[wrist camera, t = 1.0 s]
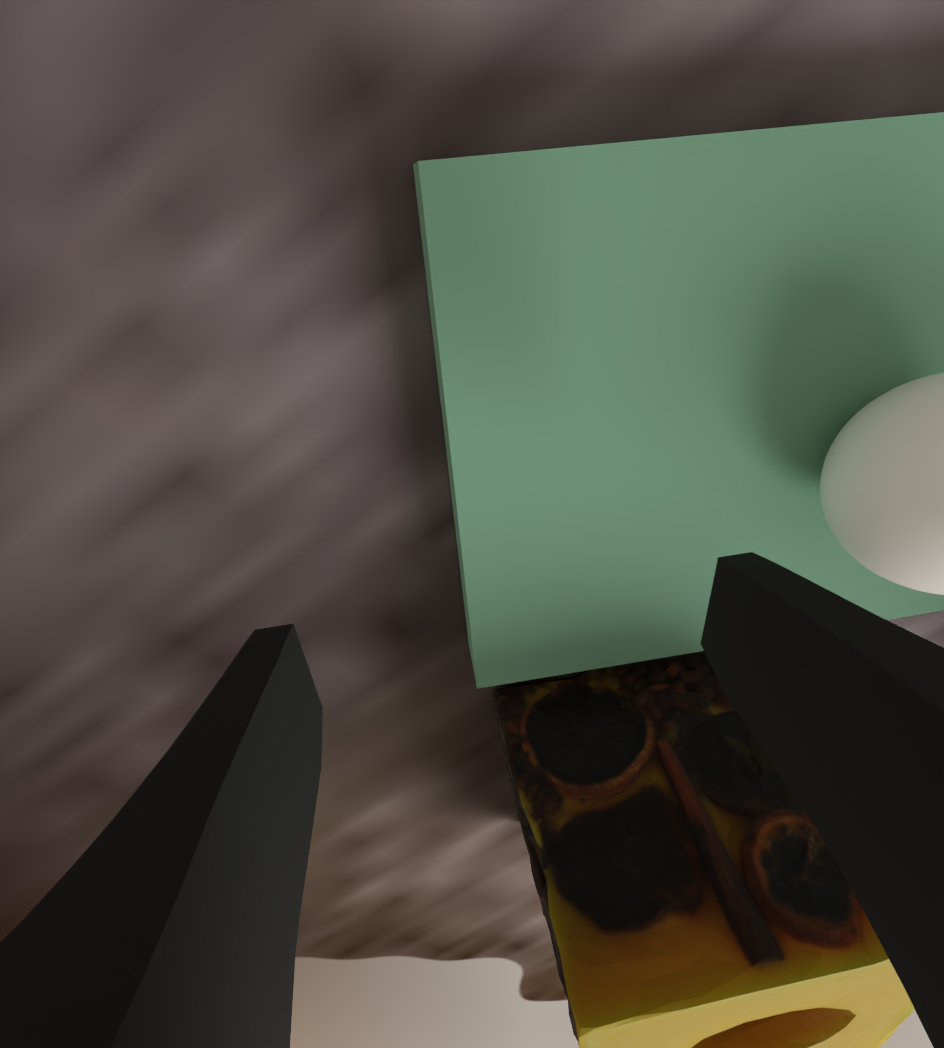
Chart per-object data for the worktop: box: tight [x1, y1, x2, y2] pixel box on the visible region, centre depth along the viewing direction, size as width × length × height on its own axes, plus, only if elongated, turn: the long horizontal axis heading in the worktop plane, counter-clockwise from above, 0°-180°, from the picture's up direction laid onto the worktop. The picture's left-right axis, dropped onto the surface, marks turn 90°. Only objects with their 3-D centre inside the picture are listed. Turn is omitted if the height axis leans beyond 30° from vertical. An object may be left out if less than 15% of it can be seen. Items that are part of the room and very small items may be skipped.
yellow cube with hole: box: [492, 651, 914, 1048], centre depth 19 cm, size 10×10×10 cm
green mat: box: [413, 112, 944, 689], centre depth 15 cm, size 24×14×2 cm, turn 95°
